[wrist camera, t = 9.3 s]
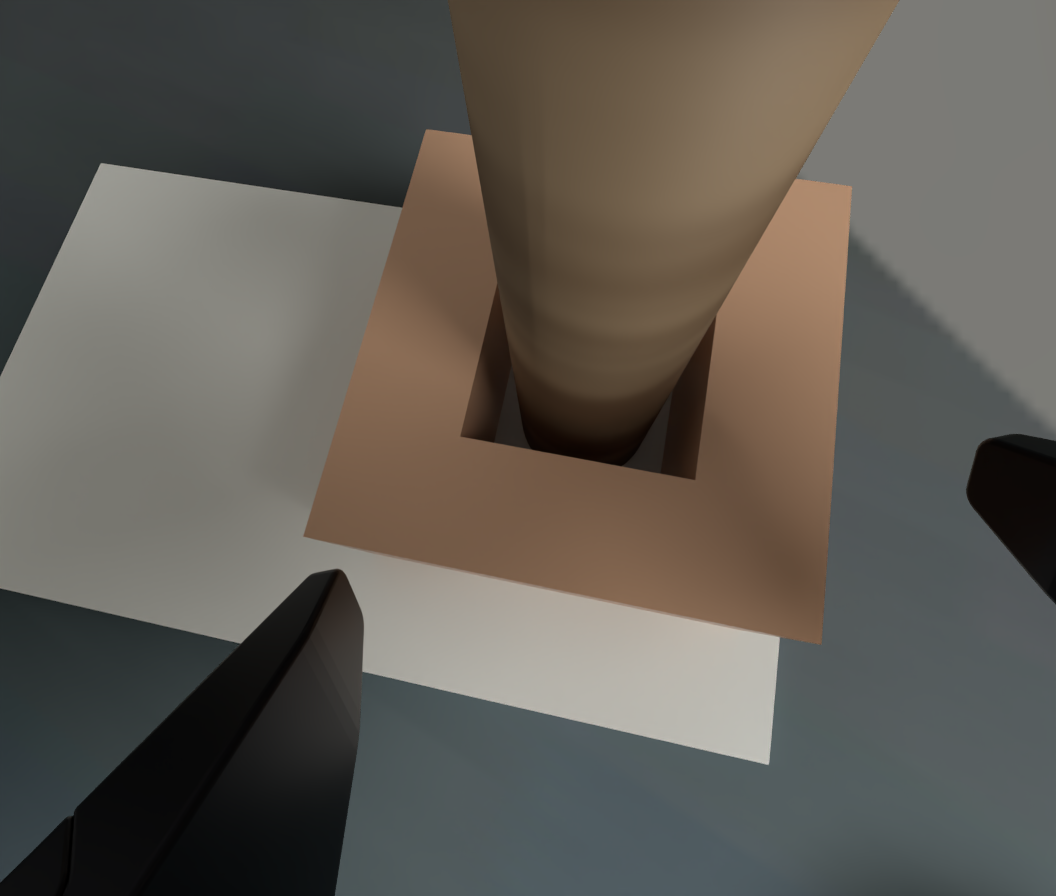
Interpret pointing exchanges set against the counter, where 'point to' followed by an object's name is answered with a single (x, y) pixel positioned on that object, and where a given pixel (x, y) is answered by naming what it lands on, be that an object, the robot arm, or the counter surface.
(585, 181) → the walnut peg
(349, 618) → the robot arm
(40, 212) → the counter surface
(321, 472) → the collar plate
